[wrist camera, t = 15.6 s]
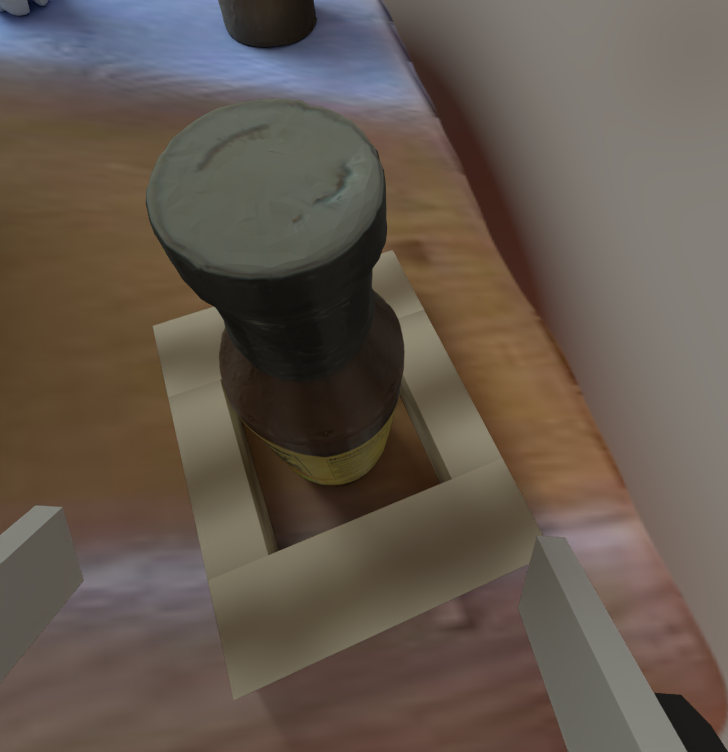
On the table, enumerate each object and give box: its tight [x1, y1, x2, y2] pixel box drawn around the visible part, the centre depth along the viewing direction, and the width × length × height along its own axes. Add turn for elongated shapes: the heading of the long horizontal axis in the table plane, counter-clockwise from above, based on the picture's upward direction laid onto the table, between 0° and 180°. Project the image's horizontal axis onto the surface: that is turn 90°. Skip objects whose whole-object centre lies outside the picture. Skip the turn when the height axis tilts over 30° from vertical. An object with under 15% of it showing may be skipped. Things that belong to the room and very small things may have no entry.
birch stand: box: [153, 250, 543, 700], centre depth 24 cm, size 20×16×3 cm
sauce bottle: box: [146, 99, 405, 486], centre depth 16 cm, size 6×6×20 cm
